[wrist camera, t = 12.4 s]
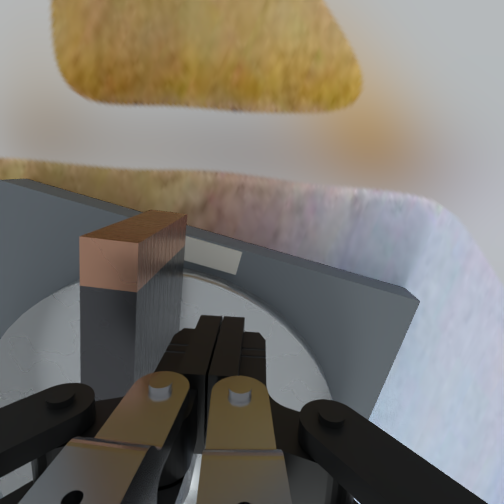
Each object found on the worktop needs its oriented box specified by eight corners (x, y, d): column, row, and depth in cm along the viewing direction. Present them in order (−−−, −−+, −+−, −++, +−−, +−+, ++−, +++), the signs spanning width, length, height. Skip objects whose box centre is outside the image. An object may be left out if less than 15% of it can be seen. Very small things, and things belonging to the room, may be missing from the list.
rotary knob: (306, 571, 22) (327, 775, 14) (7, 534, 22) (-121, 718, 15) (374, 231, 16) (462, 281, 9) (-19, 185, 17) (-240, 198, 9)
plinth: (288, 563, 25) (290, 600, 23) (-12, 486, 24) (-39, 517, 22) (404, 288, 20) (422, 302, 18) (26, 178, 19) (-4, 180, 17)
